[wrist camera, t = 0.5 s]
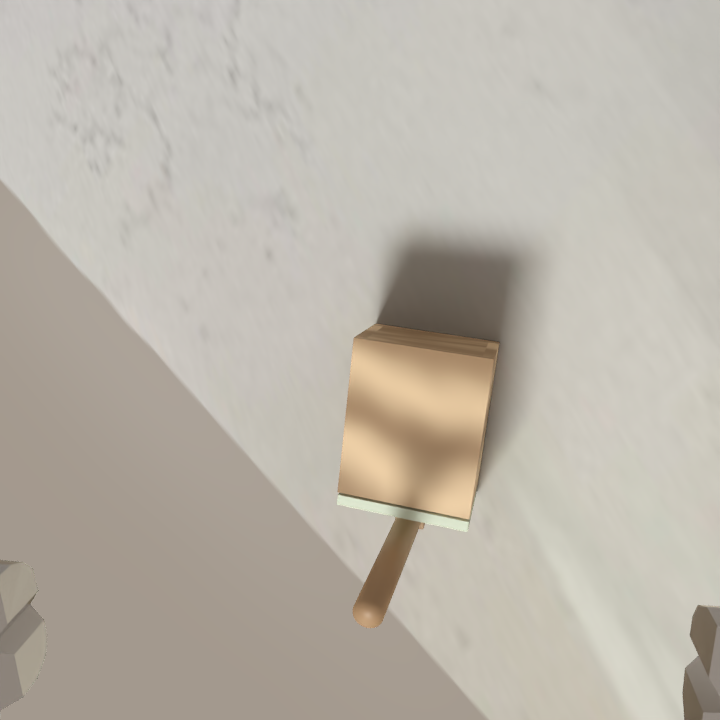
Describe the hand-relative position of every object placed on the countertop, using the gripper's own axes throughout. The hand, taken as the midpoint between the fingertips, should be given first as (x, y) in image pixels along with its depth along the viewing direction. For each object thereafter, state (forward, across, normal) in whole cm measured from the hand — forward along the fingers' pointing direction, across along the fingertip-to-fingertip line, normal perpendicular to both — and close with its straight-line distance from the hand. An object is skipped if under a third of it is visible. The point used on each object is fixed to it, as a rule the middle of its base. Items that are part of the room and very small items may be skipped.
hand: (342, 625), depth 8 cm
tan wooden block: (+46, +1, +15) cm, 48 cm away
